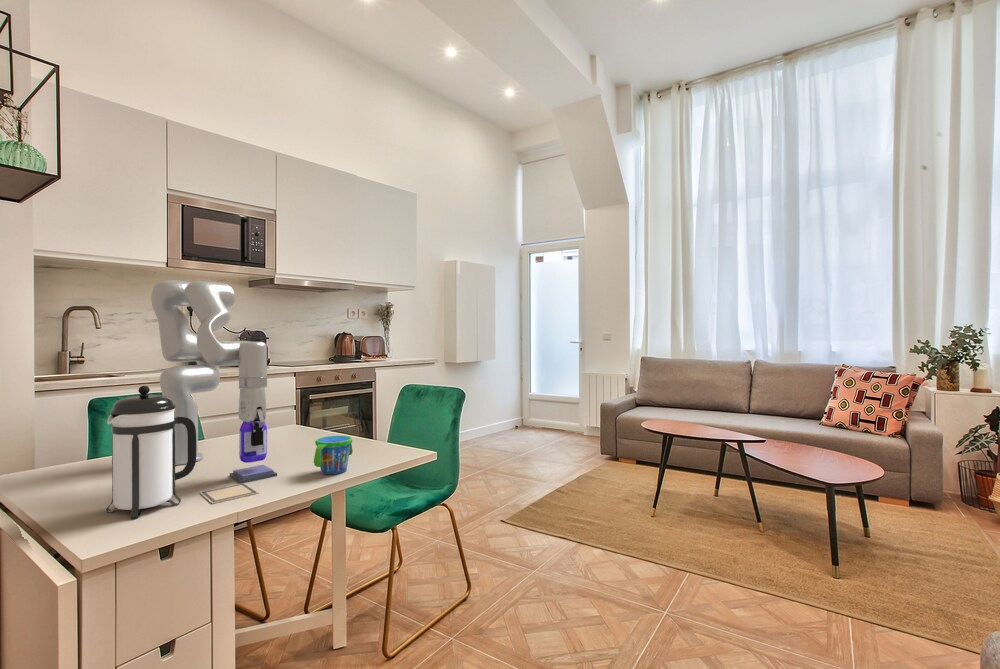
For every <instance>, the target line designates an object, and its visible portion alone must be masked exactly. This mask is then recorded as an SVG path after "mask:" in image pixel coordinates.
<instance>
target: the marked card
mask: <svg viewBox="0 0 1000 669" xmlns="http://www.w3.org/2000/svg"><path fill="white" fill-rule="evenodd" d="M257 494H259V491H257V490H255V489H254V488H252V486H249V485H248V484H246V482H245V483H239V484H234V485H230V486H229V485H228V486H224V487H220V488H214V489H210V490H206V491H201V492H199V495H200V496H202V497H203V498H204V497H205V498H204V499H206V501H208V502H209V503H210V502H211V503H212V504H211V503H210V504H211V505H215V504H217V503H218V502H219V503H223V502H227V501H226V500H228V501H231V499H232V500H236V499H235V498H237V499H239V498H240V497H241V498H245V497H249V496H254V495H257ZM241 498H240V499H241ZM222 501H223V502H222ZM214 503H215V504H214ZM219 503H218V504H219Z"/></svg>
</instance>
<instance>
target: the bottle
mask: <svg viewBox="0 0 1000 669" xmlns="http://www.w3.org/2000/svg"><path fill="white" fill-rule="evenodd" d="M254 421H258V419H255V420H254ZM257 424H258V423H257ZM255 427H256V424H255ZM263 428H264V431H263V445H257V446H252V445H251V432H253V431H252V423H247V422H245V421H242V423H241V425H240V428H239V434H238V436H239V442H238V443H239V444H238V445H239V446H238V447H239V450H238V452H239V453H238V454H239V459H240V461H241V462H243V463H254V462H261V461H264V460H265V459H266V458H267V455H268V454H267V453H268V450H267V449H268V426H267V424H266V422H265V423H264V426H263Z"/></svg>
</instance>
